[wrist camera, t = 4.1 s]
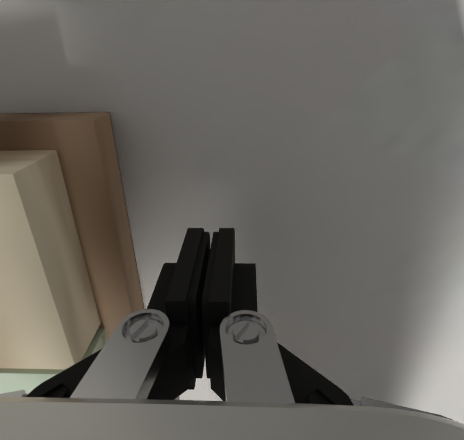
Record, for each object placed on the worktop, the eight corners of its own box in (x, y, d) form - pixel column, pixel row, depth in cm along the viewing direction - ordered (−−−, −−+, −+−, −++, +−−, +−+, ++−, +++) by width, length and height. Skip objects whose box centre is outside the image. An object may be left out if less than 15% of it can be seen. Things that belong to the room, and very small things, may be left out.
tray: (104, 328, 16) (81, 374, 14) (130, 430, 19) (115, 480, 17) (-87, 325, 16) (-141, 370, 14) (-28, 426, 20) (-63, 475, 17)
